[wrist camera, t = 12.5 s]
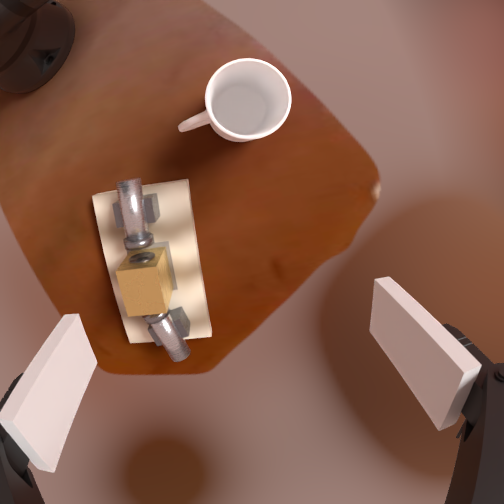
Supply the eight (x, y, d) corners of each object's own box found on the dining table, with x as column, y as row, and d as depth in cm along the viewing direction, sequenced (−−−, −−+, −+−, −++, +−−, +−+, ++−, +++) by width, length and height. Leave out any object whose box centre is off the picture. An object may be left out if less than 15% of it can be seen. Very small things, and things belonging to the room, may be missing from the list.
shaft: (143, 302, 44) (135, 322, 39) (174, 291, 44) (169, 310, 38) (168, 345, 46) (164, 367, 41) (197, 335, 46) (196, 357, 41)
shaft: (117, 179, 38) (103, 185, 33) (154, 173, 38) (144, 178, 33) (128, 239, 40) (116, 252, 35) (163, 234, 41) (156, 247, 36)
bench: (97, 193, 40) (91, 196, 38) (188, 178, 41) (186, 180, 38) (132, 336, 48) (129, 343, 46) (211, 329, 48) (211, 337, 46)
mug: (192, 156, 40) (182, 162, 28) (175, 96, 37) (158, 79, 25) (280, 133, 40) (303, 130, 28) (263, 72, 37) (280, 48, 26)
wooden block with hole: (129, 249, 41) (115, 270, 34) (165, 245, 41) (156, 265, 34) (140, 292, 43) (128, 317, 36) (173, 288, 43) (167, 314, 37)
